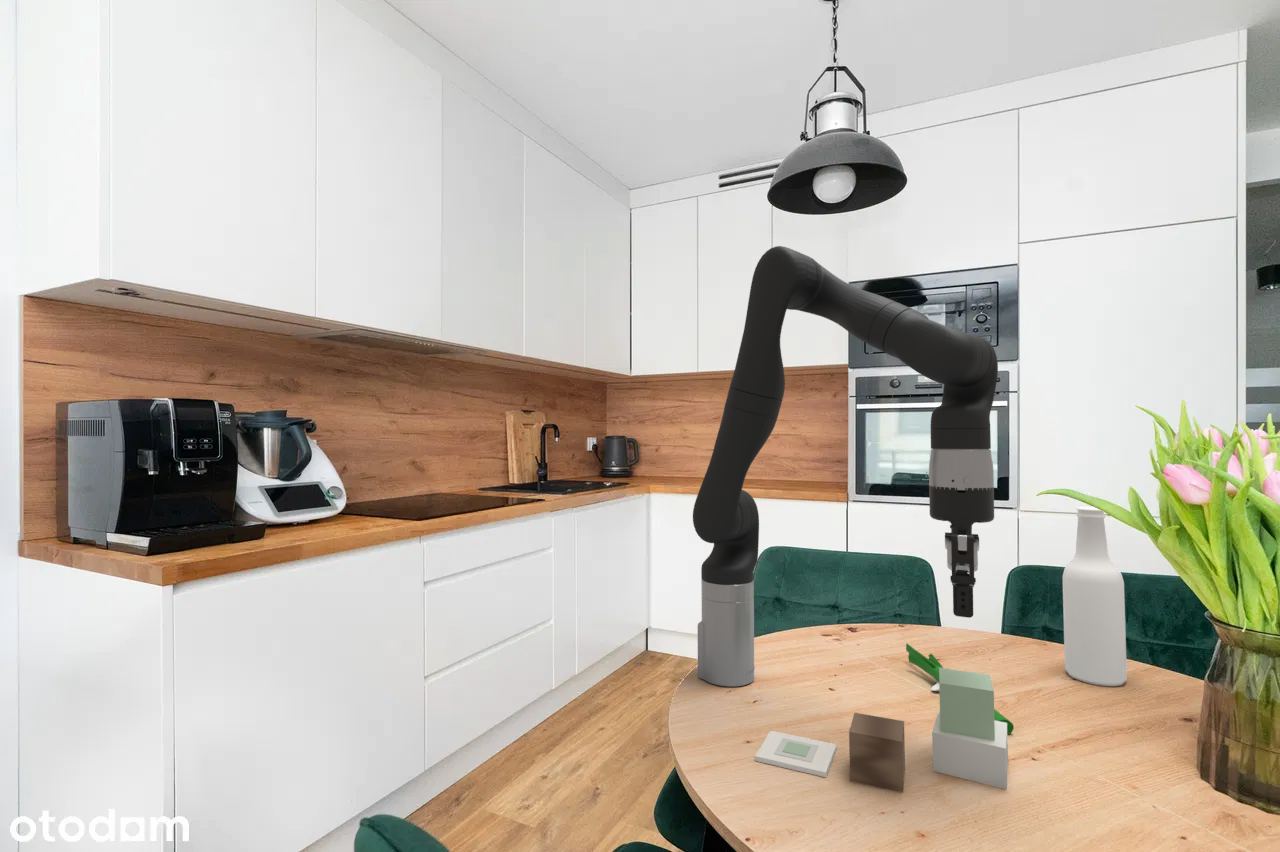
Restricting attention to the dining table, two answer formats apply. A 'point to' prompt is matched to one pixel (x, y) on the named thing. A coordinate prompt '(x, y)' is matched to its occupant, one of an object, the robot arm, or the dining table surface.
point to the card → (797, 753)
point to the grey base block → (972, 755)
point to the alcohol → (1094, 607)
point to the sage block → (966, 703)
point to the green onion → (933, 669)
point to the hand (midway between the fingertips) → (962, 608)
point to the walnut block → (877, 752)
